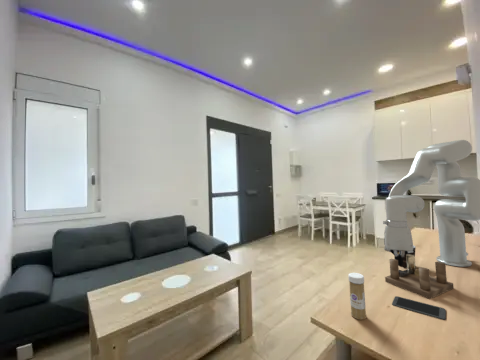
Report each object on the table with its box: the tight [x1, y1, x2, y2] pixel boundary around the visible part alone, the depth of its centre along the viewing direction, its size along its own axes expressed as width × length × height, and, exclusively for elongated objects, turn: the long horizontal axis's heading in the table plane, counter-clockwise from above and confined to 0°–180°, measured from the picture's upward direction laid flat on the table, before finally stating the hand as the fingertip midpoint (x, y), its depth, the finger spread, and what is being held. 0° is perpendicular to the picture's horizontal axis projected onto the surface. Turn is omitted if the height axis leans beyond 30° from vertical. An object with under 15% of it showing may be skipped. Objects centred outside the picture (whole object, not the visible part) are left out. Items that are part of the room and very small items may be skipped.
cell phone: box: [391, 296, 447, 321], centre depth 74 cm, size 7×14×1 cm, turn 46°
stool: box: [384, 258, 454, 300], centre depth 89 cm, size 16×16×10 cm
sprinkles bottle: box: [347, 272, 367, 320], centre depth 72 cm, size 5×5×14 cm
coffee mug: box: [397, 244, 417, 269], centre depth 110 cm, size 12×9×10 cm
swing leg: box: [399, 254, 417, 277], centre depth 95 cm, size 10×3×7 cm, turn 110°
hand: (399, 264), depth 98 cm, fingers closed
